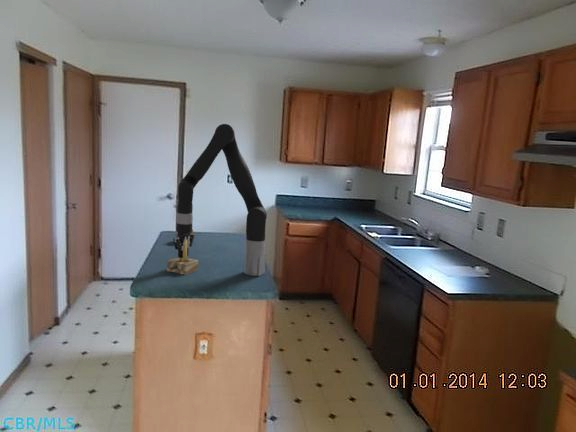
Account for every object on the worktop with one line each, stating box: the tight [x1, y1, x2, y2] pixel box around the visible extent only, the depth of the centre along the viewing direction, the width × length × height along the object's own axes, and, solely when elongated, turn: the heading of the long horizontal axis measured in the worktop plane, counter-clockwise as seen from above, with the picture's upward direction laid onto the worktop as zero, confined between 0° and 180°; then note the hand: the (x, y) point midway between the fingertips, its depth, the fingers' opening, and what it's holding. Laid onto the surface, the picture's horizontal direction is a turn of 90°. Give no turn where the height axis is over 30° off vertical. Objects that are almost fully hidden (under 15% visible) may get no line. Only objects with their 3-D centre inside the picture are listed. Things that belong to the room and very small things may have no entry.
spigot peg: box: [179, 239, 188, 263], centre depth 216 cm, size 4×4×14 cm
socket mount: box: [166, 256, 199, 276], centre depth 216 cm, size 11×14×5 cm
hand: (183, 256), depth 217 cm, fingers closed on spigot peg, 3 cm apart
